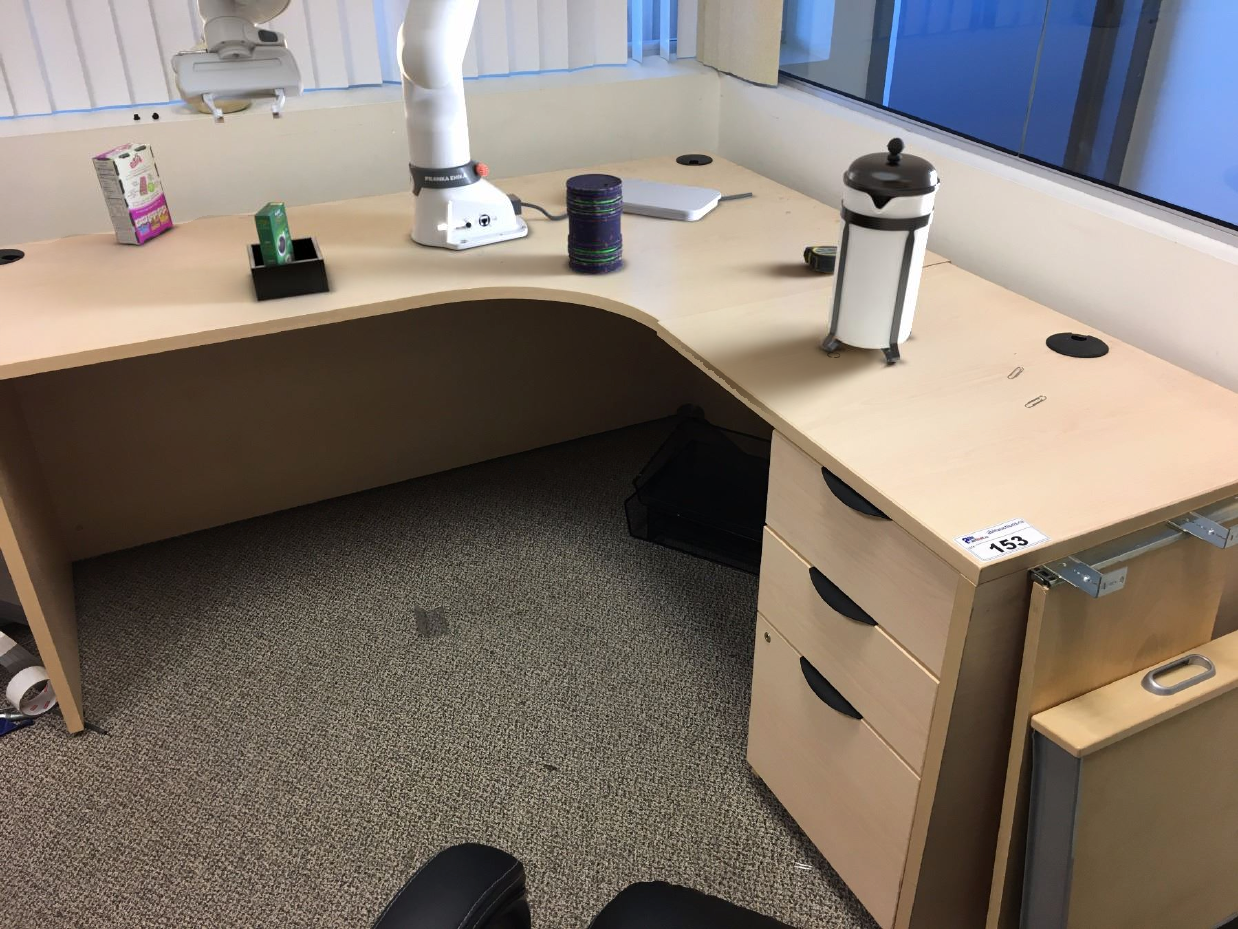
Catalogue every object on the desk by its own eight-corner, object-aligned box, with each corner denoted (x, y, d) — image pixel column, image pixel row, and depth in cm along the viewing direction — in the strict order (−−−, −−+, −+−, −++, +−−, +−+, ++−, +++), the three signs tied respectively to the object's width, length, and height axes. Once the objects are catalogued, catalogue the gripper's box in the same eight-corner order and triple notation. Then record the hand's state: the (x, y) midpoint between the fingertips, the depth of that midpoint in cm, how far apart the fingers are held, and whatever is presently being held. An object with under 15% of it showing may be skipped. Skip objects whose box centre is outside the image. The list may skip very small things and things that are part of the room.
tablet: (696, 223, 189) (697, 212, 187) (582, 206, 198) (581, 195, 197) (724, 201, 201) (725, 190, 200) (615, 186, 211) (615, 176, 209)
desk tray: (320, 266, 169) (315, 235, 166) (329, 291, 159) (323, 259, 156) (253, 275, 166) (246, 244, 163) (257, 301, 156) (250, 268, 153)
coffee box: (283, 274, 166) (267, 200, 158) (299, 274, 166) (284, 200, 158) (268, 291, 159) (251, 215, 152) (285, 291, 159) (269, 215, 152)
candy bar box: (152, 225, 189) (128, 141, 180) (174, 227, 188) (152, 142, 179) (116, 244, 180) (90, 156, 171) (139, 245, 179) (114, 158, 170)
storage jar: (556, 265, 169) (553, 181, 161) (594, 251, 175) (593, 170, 167) (596, 279, 164) (594, 193, 156) (634, 264, 170) (634, 181, 162)
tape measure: (839, 262, 170) (841, 242, 168) (850, 276, 164) (852, 255, 162) (802, 263, 170) (804, 243, 168) (811, 277, 164) (814, 256, 162)
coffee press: (943, 356, 137) (986, 146, 121) (845, 371, 134) (875, 155, 117) (883, 311, 151) (913, 117, 135) (792, 323, 148) (813, 125, 131)
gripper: (165, 39, 157) (180, 112, 155) (292, 32, 163) (308, 103, 161) (172, 63, 163) (186, 134, 160) (294, 56, 169) (310, 124, 167)
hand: (248, 118), depth 161 cm, fingers open, 8 cm apart
